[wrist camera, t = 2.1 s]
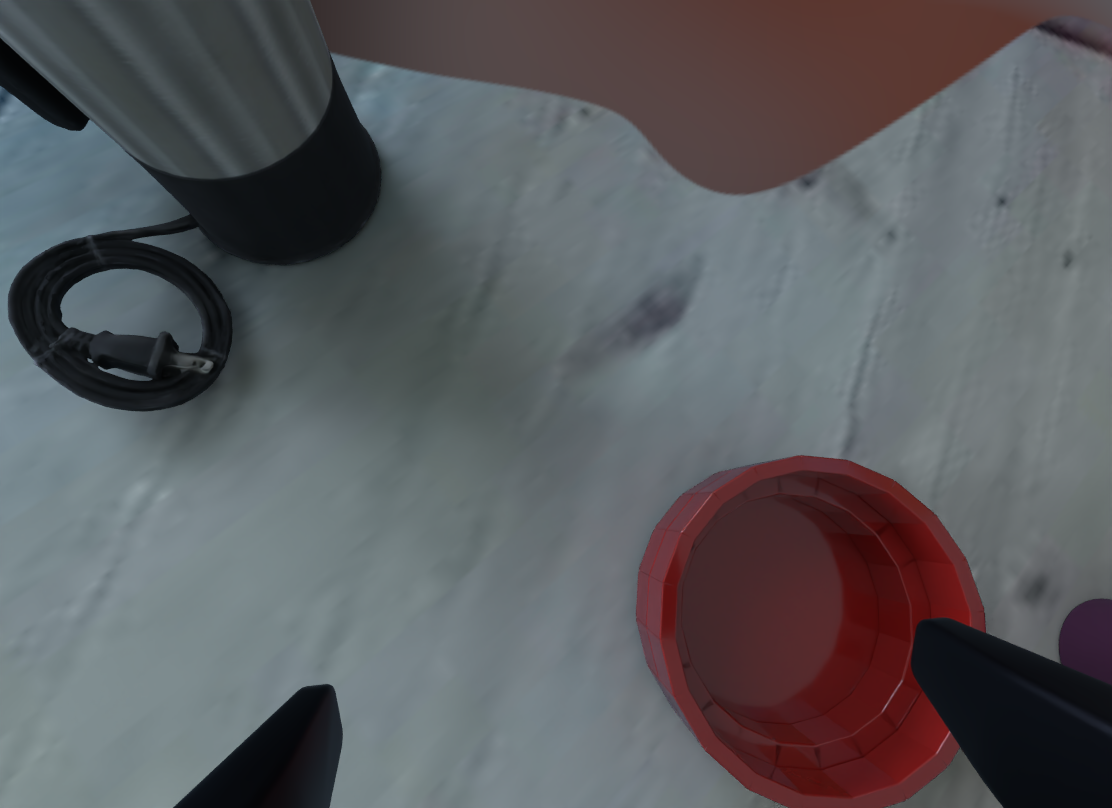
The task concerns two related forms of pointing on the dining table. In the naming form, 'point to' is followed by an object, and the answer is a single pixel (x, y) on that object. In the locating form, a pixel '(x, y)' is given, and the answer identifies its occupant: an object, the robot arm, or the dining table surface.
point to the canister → (1088, 639)
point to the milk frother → (185, 164)
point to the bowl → (804, 628)
